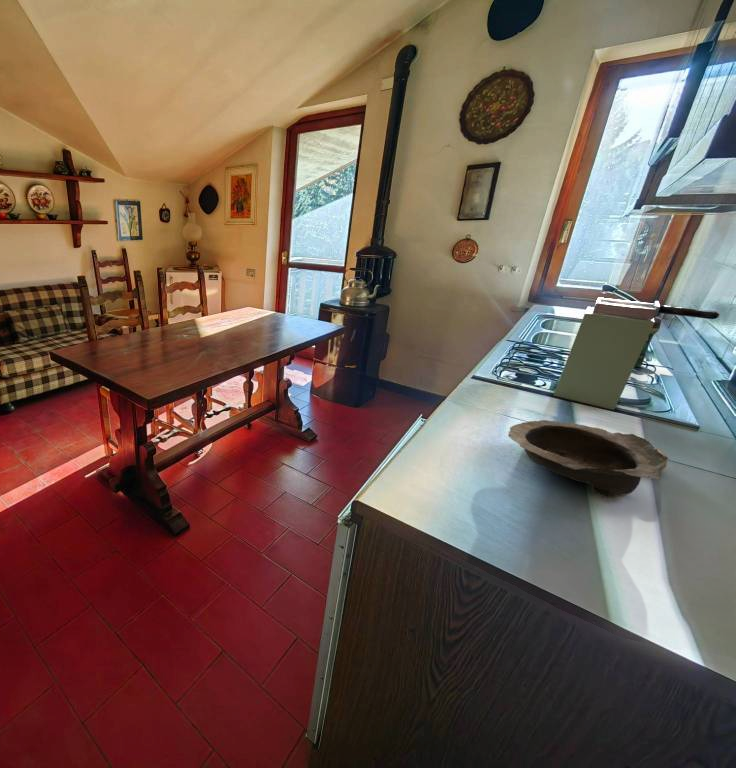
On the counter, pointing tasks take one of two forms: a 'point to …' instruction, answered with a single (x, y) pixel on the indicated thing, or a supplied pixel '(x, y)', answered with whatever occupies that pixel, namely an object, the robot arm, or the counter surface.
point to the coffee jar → (648, 341)
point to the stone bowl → (590, 454)
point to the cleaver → (646, 309)
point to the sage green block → (602, 358)
